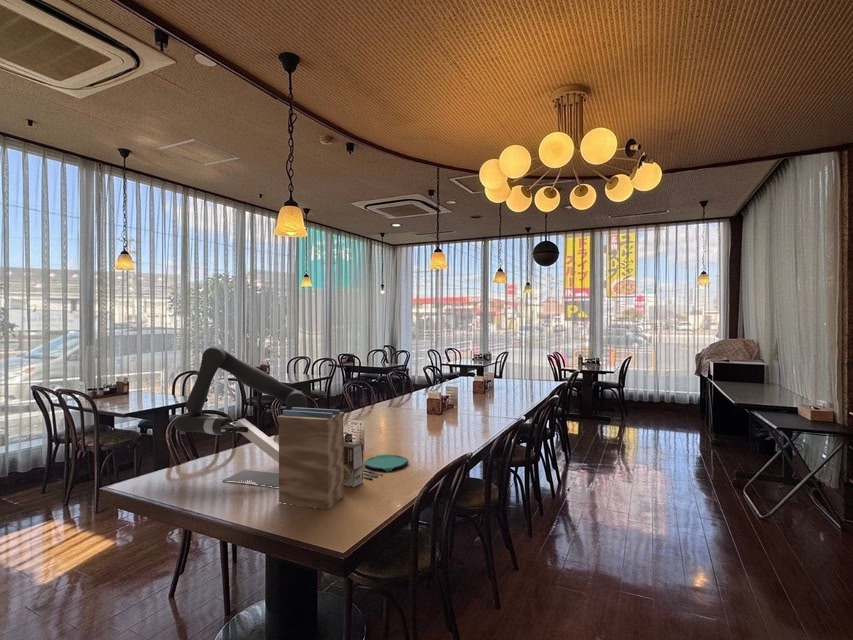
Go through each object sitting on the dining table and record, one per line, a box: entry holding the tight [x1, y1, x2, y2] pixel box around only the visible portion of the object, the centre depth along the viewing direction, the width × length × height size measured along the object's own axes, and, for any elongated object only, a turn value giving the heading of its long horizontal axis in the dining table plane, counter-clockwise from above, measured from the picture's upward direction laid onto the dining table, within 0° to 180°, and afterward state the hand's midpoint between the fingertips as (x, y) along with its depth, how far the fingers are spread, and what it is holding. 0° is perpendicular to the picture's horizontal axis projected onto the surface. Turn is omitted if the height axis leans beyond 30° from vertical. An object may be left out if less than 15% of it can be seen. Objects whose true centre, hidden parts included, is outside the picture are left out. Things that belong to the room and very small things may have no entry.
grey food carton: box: [343, 441, 364, 488], centre depth 184 cm, size 9×6×16 cm
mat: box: [222, 469, 279, 487], centre depth 188 cm, size 14×30×1 cm, turn 74°
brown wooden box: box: [276, 407, 346, 510], centre depth 166 cm, size 14×20×34 cm
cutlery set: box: [363, 453, 409, 480], centre depth 204 cm, size 20×30×2 cm, turn 146°
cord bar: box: [236, 417, 279, 464], centre depth 189 cm, size 4×26×4 cm, turn 74°
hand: (251, 428), depth 190 cm, fingers closed on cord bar, 4 cm apart
